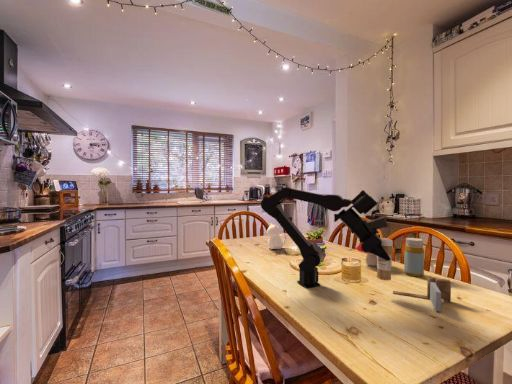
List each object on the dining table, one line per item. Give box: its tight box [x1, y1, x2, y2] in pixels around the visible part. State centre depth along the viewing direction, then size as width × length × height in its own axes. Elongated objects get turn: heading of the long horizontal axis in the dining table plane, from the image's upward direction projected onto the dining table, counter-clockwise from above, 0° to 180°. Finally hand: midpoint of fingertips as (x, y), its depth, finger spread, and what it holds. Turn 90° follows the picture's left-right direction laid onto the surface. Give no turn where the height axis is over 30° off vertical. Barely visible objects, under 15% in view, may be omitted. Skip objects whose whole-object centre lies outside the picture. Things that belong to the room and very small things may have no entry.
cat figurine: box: [266, 222, 287, 250], centre depth 151 cm, size 9×12×15 cm
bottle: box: [403, 237, 425, 278], centre depth 107 cm, size 7×7×15 cm
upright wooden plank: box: [392, 276, 452, 303], centre depth 85 cm, size 16×2×7 cm, turn 65°
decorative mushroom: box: [355, 242, 378, 267], centre depth 119 cm, size 14×14×15 cm
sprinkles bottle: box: [375, 237, 394, 281], centre depth 86 cm, size 5×5×13 cm
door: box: [429, 282, 445, 313], centre depth 78 cm, size 9×2×6 cm, turn 155°
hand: (388, 258), depth 85 cm, fingers closed on sprinkles bottle, 4 cm apart
